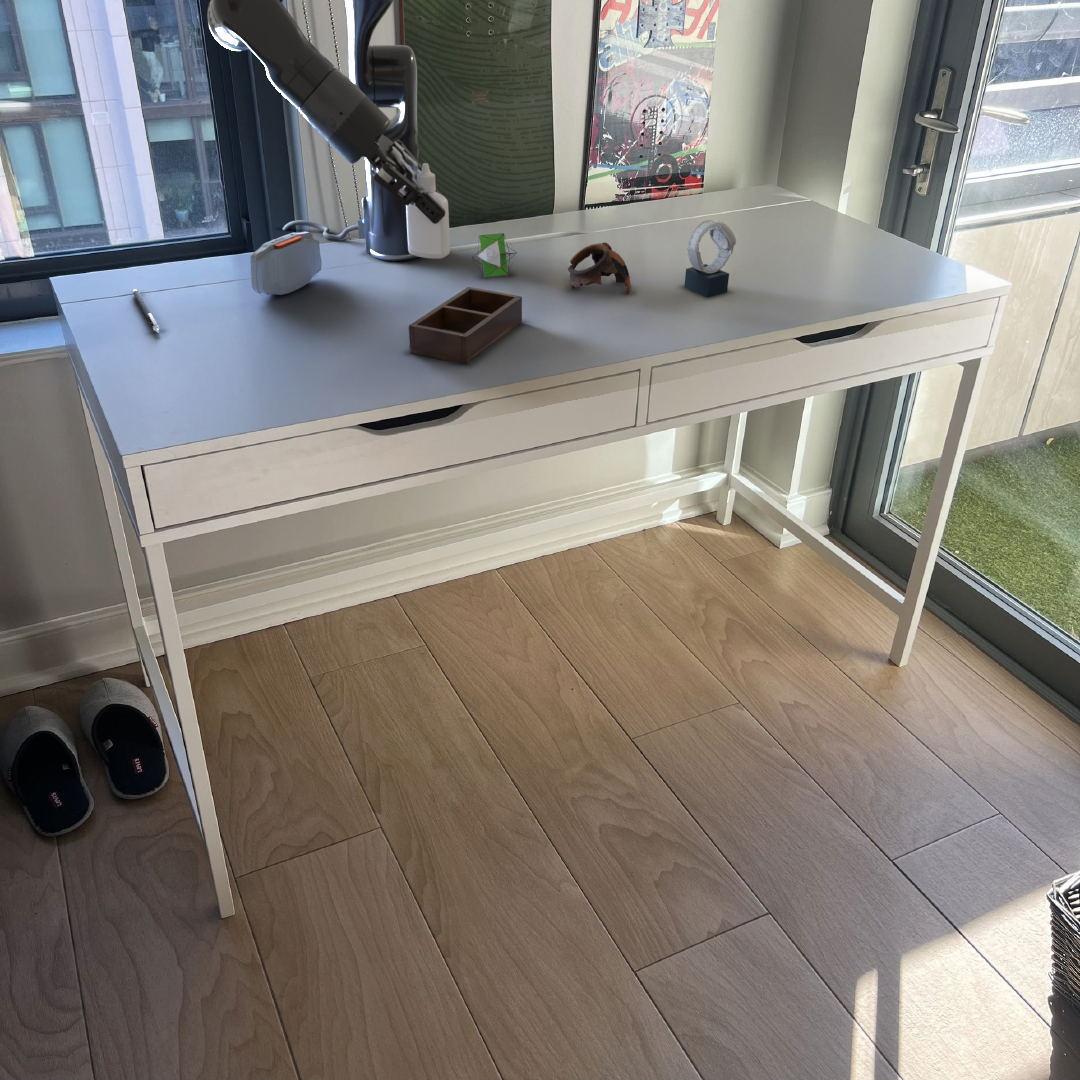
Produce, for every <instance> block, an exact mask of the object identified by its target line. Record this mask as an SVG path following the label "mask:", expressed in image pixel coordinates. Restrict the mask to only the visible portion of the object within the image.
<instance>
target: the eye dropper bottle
mask: <svg viewBox="0 0 1080 1080" xmlns="http://www.w3.org/2000/svg"><path fill="white" fill-rule="evenodd" d="M429 165H430V164H429V163H427V162H424V163H422V165H421V166H422V171H421V173H419V174H417V181H418V182H419V184H420V185H421V186H422V187H423V188H424V189H425V191H426V192H427V193H428V194H429V195H430V196H431V197H432V198H433V199H434V200H435V201H436V202H437V203H438V204H439V205H440V206H441V207H442V208H443V209H444V210H445V212H446V213H445V216H444V217H443V218H442V219H441V220H440V221H439V222H438V223H437V224H434V223H432V222H431V221H430V220H429V219H428V218H427V217H426V216H425V215H424V214H423V213H422V212H421V211H420V210H419V209H418V208H417V207H416V206H415V204H414V205H411V204H409V205H408V206H407V205H406V215H407V236H408V251H409V253H410V254H412V255H415V256H419V257H420V258H423V259H431V260H432V259H435V260H440V259H444V258H446V257H447V256H449V255H450V253H451V250H450V249H451V246H450V217H449V216H450V211H449V200H448V199H447V198H446V197H445V196H444V195H443V194H442V193H441V194H442V195H443V196H442V195H441V194H439V193H437V192H435V190H436V189H437V188H436V187H437V186H436V174H435V173H433V172H431V170H430V166H429ZM447 200H448V201H447ZM419 257H418V258H419Z"/></svg>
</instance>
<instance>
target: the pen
mask: <svg viewBox="0 0 1080 1080" xmlns="http://www.w3.org/2000/svg"><path fill="white" fill-rule="evenodd" d="M132 294H133V295H134V297H135V300H136V301H137V303H138V305H139V306H140V308H141V310H142V312H143V313H144V316H145V317H146V319H147V321H148V322H149V324H150V326H151V328H152V329H153V331H154V332H156V333H160V326H159V324H158V322H157V321H156V318H155V317H154V315H153V313H152V312H151V310H150V308H149V307H148V305H147V304H146V302H145V300H144V298H143V297H142V295H141V293H140V291H139V290H138V289H135V288H133V291H132Z"/></svg>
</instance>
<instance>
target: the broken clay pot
mask: <svg viewBox="0 0 1080 1080" xmlns="http://www.w3.org/2000/svg"><path fill="white" fill-rule="evenodd" d="M590 256H591V259H592V261H593V265H592V266H589V267H588V268H585V269H581V270H578V269H577V267H578V265H579V264H581V262H583V261H585V259H587V258H589V257H590ZM569 263H570V265H569V266H568V267H567V271H568V272H569V279H568V280H569V282H568V283H569V286H570V287H571V289H575V287H578V288H583V286H584V287H586V286H587V287H588V286H590V285H593V284H597V285H599V286H602V285H603V283H602V277H610V276H612V275H614V279H615V280H614V281H615V283H616V284H624V286H625V287H626V293H627V295H630V294H631V292H632V284H631V276H630V272H629V269H628V267H627V264H626V262H625V260H624V259H623V257H621V255H620V253H618V252H617V251H615V250H613V248H612V247H611V245H610V244H609V243H608V242H605V241H604V242H602V243H601V242H600V243H594V244H590V245H588V246H587V245H586V246H585V247H583V248H582V249H580V250H579V251H578V252H576V254H574V255H573V256H572V258H571V259H570V260H569Z"/></svg>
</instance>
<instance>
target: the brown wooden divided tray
mask: <svg viewBox="0 0 1080 1080" xmlns="http://www.w3.org/2000/svg"><path fill="white" fill-rule="evenodd" d="M522 323H523V296H521V295H515V294H511V293H505V292H499V291H493V290H488V289H483V288H477V287H471V286H467V287H466V288H464V289H462V290H460V291H459V292H458V293H456V294H455V295H453V296H451V297H450V298H449V299H447V300H445V301H444V302H442V303H441V304H439V305H438V306H436V307H434V308H433V309H432V310H430V311H428V312H427V313H426V314H424V315H423V316H421V317H419V318H418V319H417V320H415V321H413V322H412V323H410V324H409V325H408V340H409V353H410V354H413V355H419V356H424V357H429V358H432V359H433V358H434V359H437V360H442V361H446V362H447V361H448V362H452V363H456V364H460V365H461V364H462V365H469V364H470V363H472V362H473V361H474V360H476V358H477V357H479V356H481V355H482V354H483V353H484V352H486V351H488V349H490V348H491V347H492V346H494V345H495V344H496V343H497V342H498V341H500V340H501V339H502V338H504V337H505V336H506V335H508V334H509V333H510V332H511V331H513V330H514V329H516V328H517V327H518V326H519V325H521V324H522Z"/></svg>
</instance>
